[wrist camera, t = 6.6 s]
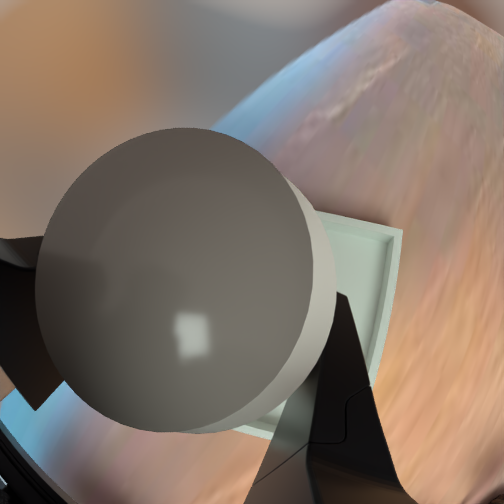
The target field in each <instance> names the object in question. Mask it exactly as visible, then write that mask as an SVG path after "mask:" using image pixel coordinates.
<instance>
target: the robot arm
mask: <svg viewBox="0 0 504 504" xmlns="http://www.w3.org/2000/svg"><path fill="white" fill-rule="evenodd" d="M43 237H44V236H36V237H27V238H26V237H25V238H16V239H3V238H0V402H1V401H2V400H3V399H4V398H5V397H6V396H7V395H8V394H9V393H11V392H12V391H13V390H14V389H15V388H16V389H17V390H18V391H19V393H20V394H21V395H22V396H23V398H24V399H25V400H26V401H27V403H28V404H29V405H30V406H31V407H32V408H33V410H34V411H36V410H37V409H38V408H39V407H40V406H41V405H42V404H43V403H44V402H45V401H46V400H47V398H48V397H49V396H50V395H51V394H52V393H53V392H54V391H55V390H56V389H57V387H58V386H59V385H60V384H61V383H62V382H63V381H64V379H63V377H62V376H61V374H60V373H59V371H58V370H57V368H56V367H55V365H54V363H53V361H52V359H51V357H50V355H49V353H48V351H47V348H46V346H45V343H44V340H43V337H42V334H41V330H40V326H39V322H38V317H37V310H36V302H35V279H36V267H37V262H38V256H39V251H40V248H41V244H42V241H43ZM0 475H1V477H2V478H3V479H4V480H5V482H6V483H7V485H5V484H4V483H3V481H2V480H1V479H0V504H78V503H76V502H75V501H74V500H73V499H72V498H71V497H70V496H68V495H67V494H66V493H65V492H64V491H63V490H62V489H61V488H60V487H59V486H58V485H57V484H56V483H55V482H54V481H53V480H52V479H51V478H50V477H49V476H48V475H47V474H46V473H45V472H44V471H43V470H42V469H41V468H40V467H39V466H38V465H37V464H36V463H35V462H34V460H33V459H32V458H31V457H30V456H29V455H28V454H27V453H26V451H25V450H24V449H23V448H22V447H21V445H20V444H19V443H18V442H17V441H16V439H15V438H14V437H13V436H12V434H11V433H10V432H9V430H8V429H7V428H6V426H5V425H4V424H3V422H2V421H1V420H0ZM244 504H418V503H417V502H416V501H415V500H414V499H412V498H411V497H410V496H409V495H408V494H407V493H406V491H405V490H404V489H403V487H402V485H401V484H400V481H399V479H398V477H397V474H396V471H395V468H394V464H393V461H392V458H391V455H390V451H389V448H388V445H387V442H386V439H385V436H384V433H383V429H382V426H381V423H380V419H379V416H378V413H377V409H376V404H375V401H374V396H373V392H372V388H371V386H370V380H369V375H368V371H367V367H366V363H365V359H364V355H363V351H362V347H361V343H360V340H359V336H358V332H357V328H356V325H355V321H354V318H353V314H352V311H351V307H350V304H349V300H348V297H347V296H346V295H344V294H341V293H339V292H337V291H336V306H335V312H334V317H333V323H332V326H331V329H330V332H329V336H328V339H327V342H326V344H325V346H324V349H323V351H322V353H321V355H320V357H319V359H318V361H317V363H316V364H315V366H314V367H313V369H312V370H311V372H310V373H309V375H308V376H307V377H306V379H305V380H304V382H303V383H302V384H301V385H300V386H299V387H298V388H297V389H296V390H295V391H294V392H293V394H292V395H291V396H290V397H289V398H287V401H286V403H285V406H284V409H283V411H282V414H281V417H280V419H279V422H278V425H277V427H276V430H275V432H274V435H273V437H272V440H271V442H270V445H269V447H268V449H267V452H266V454H265V457H264V459H263V461H262V464H261V466H260V468H259V471H258V473H257V475H256V478H255V480H254V482H253V484H252V487H251V489H250V491H249V493H248V495H247V497H246V499H245V502H244Z"/></svg>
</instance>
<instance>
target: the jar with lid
mask: <svg viewBox="0 0 504 504" xmlns="http://www.w3.org/2000/svg"><path fill="white" fill-rule="evenodd" d="M336 290H337V278H336V269H335V261H334V256H333V252H332V249H331V245H330V241H329V238H328V236H327V233H326V231H325V229H324V226H323V224H322V222H321V220H320V218H319V216H318V215H317V213H316V212H315V210H314V208H313V207H312V205H311V203H310V202H309V201H308V200H307V199H306V197H305V196H304V195H303V194H302V193H301V191H300V190H299V189H298V188H297V187H296V186H295V185H293V184H292V183H291V182H290V181H289V180H288V179H287V178H286V177H284V176H283V175H282V174H281V173H280V172H279V171H278V170H277V169H276V168H275V166H274V165H273V164H272V163H271V162H270V161H268V160H267V159H266V158H265V157H264V156H263V155H261V154H260V153H259V152H258V151H256V150H255V149H253V148H252V147H250V146H248V145H247V144H245V143H244V142H242V141H239V140H237V139H235V138H233V137H230V136H228V135H225V134H222V133H218V132H215V131H211V130H205V129H197V128H173V129H165V130H159V131H155V132H151V133H147V134H144V135H141V136H138V137H136V138H133V139H130V140H128V141H126V142H124V143H122V144H120V145H118V146H117V147H115V148H113V149H112V150H110V151H109V152H107V153H106V154H104V155H103V156H101V157H100V158H99V159H97V160H96V161H95V162H94V163H93V164H92V165H90V166H89V167H88V168H87V169H86V170H85V171H84V172H83V173H82V174H81V175H80V176H79V177H78V178H77V179H76V181H75V182H74V183H73V184H72V186H71V187H70V188H69V189H68V191H67V192H66V193H65V195H64V196H63V198H62V200H61V201H60V203H59V204H58V206H57V208H56V210H55V212H54V214H53V216H52V217H51V219H50V222H49V224H48V227H47V229H46V232H45V234H44V237H43V241H42V244H41V248H40V251H39V256H38V262H37V267H36V279H35V302H36V310H37V317H38V322H39V326H40V330H41V334H42V337H43V340H44V343H45V346H46V348H47V351H48V353H49V355H50V357H51V359H52V361H53V363H54V365H55V367H56V368H57V370H58V371H59V373H60V374H61V376H62V377H63V379H64V380H65V382H66V383H67V384H68V385H69V386H70V388H71V389H72V390H73V391H74V392H75V393H76V394H77V395H78V396H79V397H80V398H81V399H82V400H83V401H84V402H86V403H87V404H88V405H89V406H90V407H92V408H93V409H95V410H96V411H98V412H99V413H101V414H102V415H104V416H106V417H108V418H110V419H112V420H114V421H116V422H118V423H120V424H123V425H126V426H129V427H133V428H136V429H140V430H146V431H153V432H181V433H193V434H200V433H215V432H220V431H225V430H229V429H234V428H237V427H240V426H242V425H245V424H247V423H250V422H253V421H255V420H257V419H258V418H260V417H262V416H264V415H265V414H267V413H269V412H271V411H272V410H274V409H275V408H276V407H277V406H279V405H280V404H281V403H282V402H284V401H285V400H286V399H287V398H289V397H290V396H291V395H292V394H293V392H294V391H295V390H296V389H297V388H298V387H299V386H300V385H301V384H302V383H303V382H304V380H305V379H306V377H307V376H308V375H309V373H310V372H311V370H312V369H313V367H314V366H315V364H316V363H317V361H318V359H319V357H320V355H321V353H322V351H323V349H324V346H325V344H326V342H327V339H328V336H329V332H330V329H331V326H332V323H333V317H334V312H335V306H336Z"/></svg>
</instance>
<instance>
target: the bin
mask: <svg viewBox="0 0 504 504" xmlns="http://www.w3.org/2000/svg"><path fill="white" fill-rule="evenodd" d="M315 212H316V213H317V215H318V216H319V218H320V220H321V222H322V224H323V226H324V229H325V231H326V233H327V236H328V238H329V241H330V245H331V249H332V252H333V256H334V261H335V269H336V278H337V290H336V291H337V292H339V293H341V294H344V295H346V296H347V297H348V300H349V304H350V307H351V311H352V314H353V318H354V321H355V325H356V328H357V332H358V336H359V340H360V343H361V347H362V351H363V355H364V359H365V363H366V367H367V371H368V375H369V380H370V386H371V388H372V390H373V386H374V383H375V379H376V376H377V372H378V368H379V364H380V360H381V356H382V352H383V348H384V344H385V339H386V335H387V330H388V326H389V321H390V316H391V311H392V305H393V300H394V294H395V288H396V282H397V275H398V268H399V260H400V252H401V244H402V234H403V230H401V229H396V228H392V227H388V226H384V225H380V224H375V223H371V222H367V221H362V220H358V219H353V218H349V217H344V216H339V215H335V214H330V213H325V212H320V211H315ZM286 401H287V399H286V400H285V401H284V402H282V403H281V404H280V405H279V406H277V407H276V408H275V409H274V410H272V411H271V412H269V413H267V414H265V415H264V416H262V417H260V418H258V419H257V420H255V421H253V422H250V423H247V424H245V425H242V426H240V427H237V428H234V429H232V430H236V431H239V432H243V433H246V434H250V435H253V436H257V437H261V438H265V439H268V440H272V437H273V435H274V432H275V430H276V427H277V425H278V422H279V419H280V417H281V414H282V411H283V409H284V406H285V403H286Z"/></svg>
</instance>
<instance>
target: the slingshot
mask: <svg viewBox="0 0 504 504" xmlns="http://www.w3.org/2000/svg"><path fill="white" fill-rule="evenodd" d="M490 504H504V494H502V495H500V496H499V497H497V498H496V499H495V500H493V501H492V502H491V503H490Z"/></svg>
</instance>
